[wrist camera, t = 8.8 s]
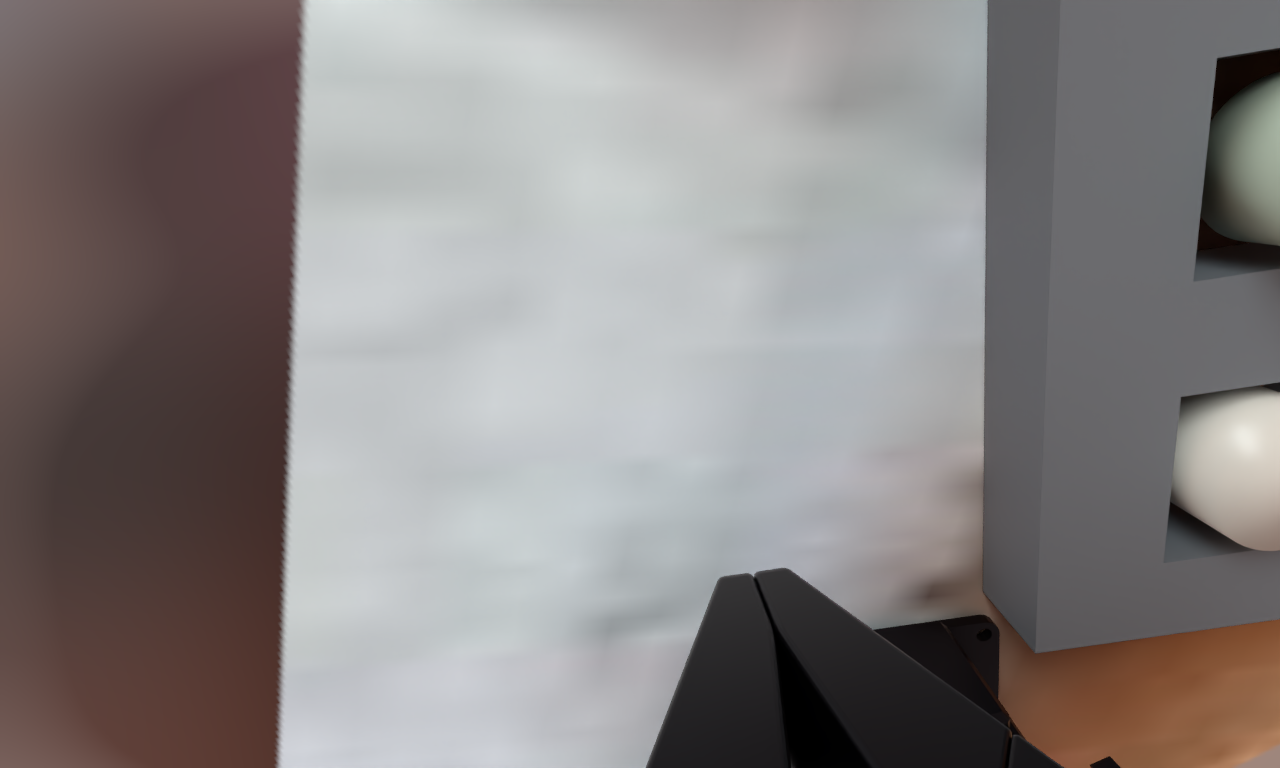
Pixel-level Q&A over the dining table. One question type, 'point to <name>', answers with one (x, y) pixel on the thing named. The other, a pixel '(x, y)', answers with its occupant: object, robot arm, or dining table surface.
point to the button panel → (1113, 318)
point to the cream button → (1231, 464)
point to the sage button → (1245, 165)
